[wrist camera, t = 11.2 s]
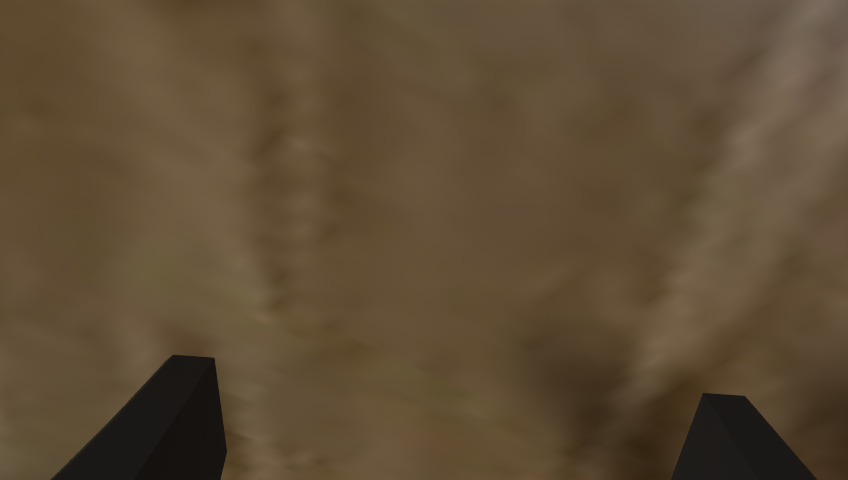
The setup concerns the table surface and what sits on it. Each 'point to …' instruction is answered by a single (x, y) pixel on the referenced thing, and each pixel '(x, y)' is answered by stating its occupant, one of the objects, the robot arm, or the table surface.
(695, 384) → the table surface
